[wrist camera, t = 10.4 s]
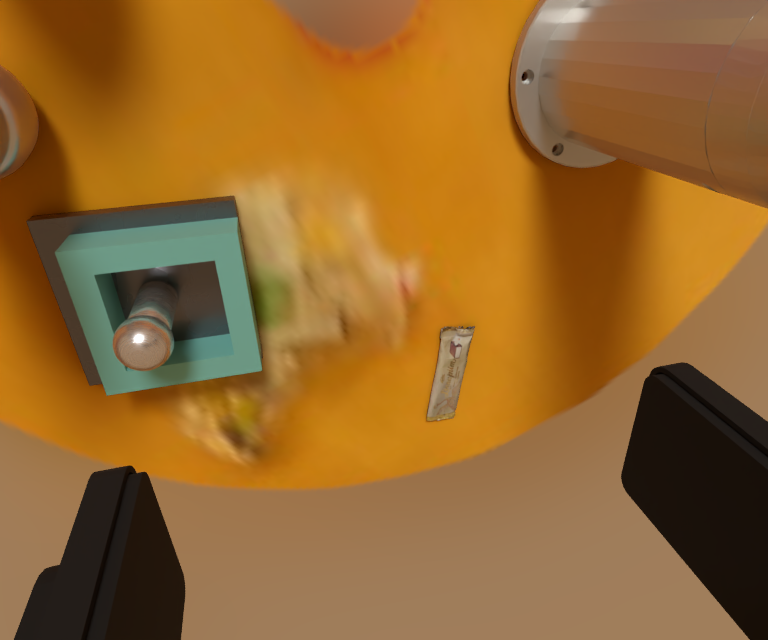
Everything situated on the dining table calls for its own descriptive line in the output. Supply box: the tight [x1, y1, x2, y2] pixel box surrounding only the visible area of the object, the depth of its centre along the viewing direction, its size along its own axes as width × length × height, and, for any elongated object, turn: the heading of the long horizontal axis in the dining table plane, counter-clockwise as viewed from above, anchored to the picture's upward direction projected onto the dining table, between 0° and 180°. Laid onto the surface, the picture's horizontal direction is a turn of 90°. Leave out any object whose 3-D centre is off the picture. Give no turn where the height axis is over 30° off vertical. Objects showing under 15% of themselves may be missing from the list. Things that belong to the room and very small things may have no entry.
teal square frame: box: [55, 217, 262, 396], centre depth 34 cm, size 10×10×3 cm
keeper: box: [26, 196, 263, 386], centre depth 32 cm, size 12×12×9 cm
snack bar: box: [427, 326, 475, 421], centre depth 45 cm, size 10×2×3 cm
